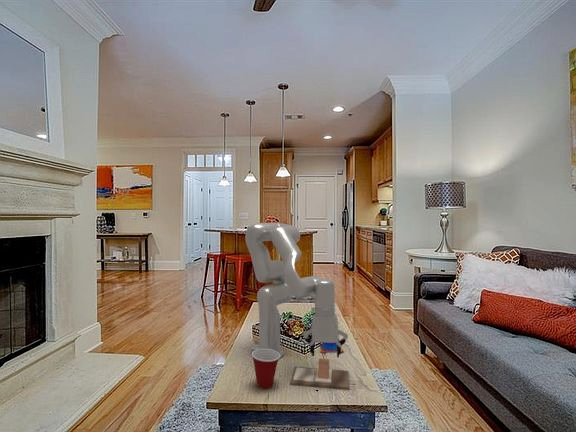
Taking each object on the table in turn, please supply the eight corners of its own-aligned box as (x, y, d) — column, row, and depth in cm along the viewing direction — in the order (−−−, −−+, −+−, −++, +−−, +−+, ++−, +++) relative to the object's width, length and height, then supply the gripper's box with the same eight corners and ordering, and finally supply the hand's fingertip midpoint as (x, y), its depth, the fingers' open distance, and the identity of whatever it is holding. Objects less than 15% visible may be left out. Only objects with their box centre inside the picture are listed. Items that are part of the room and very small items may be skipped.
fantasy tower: (345, 353, 159) (345, 327, 159) (320, 354, 158) (320, 328, 158) (339, 343, 171) (340, 319, 170) (316, 344, 170) (316, 319, 169)
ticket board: (290, 384, 130) (290, 380, 130) (294, 368, 143) (294, 365, 143) (349, 390, 127) (349, 385, 127) (348, 373, 140) (348, 369, 140)
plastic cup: (282, 391, 126) (282, 358, 126) (252, 393, 124) (252, 360, 124) (277, 376, 137) (278, 346, 136) (250, 378, 135) (250, 348, 134)
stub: (315, 382, 130) (315, 367, 130) (316, 369, 140) (317, 356, 140) (331, 383, 130) (331, 368, 129) (331, 371, 139) (332, 357, 139)
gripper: (301, 313, 132) (302, 358, 132) (347, 314, 129) (348, 360, 129) (303, 308, 139) (304, 350, 139) (347, 309, 136) (348, 352, 137)
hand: (325, 355), depth 134 cm, fingers open, 9 cm apart
